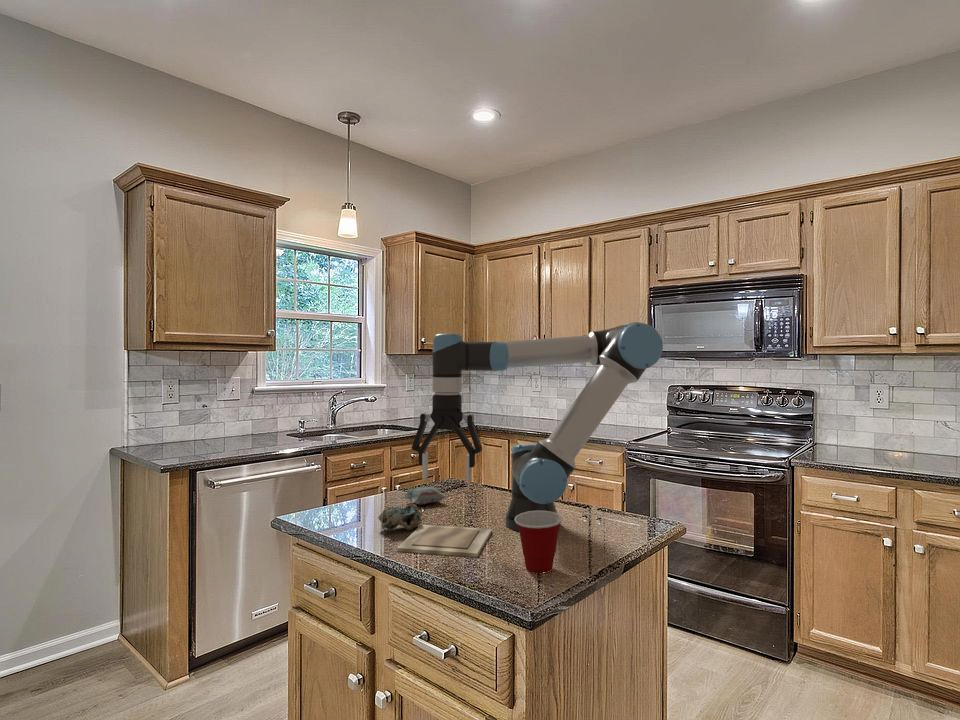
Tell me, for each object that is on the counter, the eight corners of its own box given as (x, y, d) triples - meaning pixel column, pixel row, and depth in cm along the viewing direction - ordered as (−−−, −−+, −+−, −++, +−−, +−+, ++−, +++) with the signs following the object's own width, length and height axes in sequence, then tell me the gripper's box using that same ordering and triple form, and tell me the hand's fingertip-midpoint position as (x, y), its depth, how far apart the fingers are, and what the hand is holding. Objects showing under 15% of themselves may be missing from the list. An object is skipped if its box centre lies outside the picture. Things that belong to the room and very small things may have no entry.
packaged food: (447, 504, 186) (447, 488, 186) (412, 508, 180) (412, 492, 180) (437, 498, 193) (436, 483, 193) (403, 502, 188) (403, 487, 188)
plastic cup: (504, 569, 130) (504, 515, 130) (536, 558, 137) (536, 507, 137) (539, 583, 122) (539, 526, 122) (572, 570, 129) (572, 517, 129)
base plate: (491, 532, 157) (491, 527, 157) (477, 557, 137) (477, 552, 137) (421, 528, 161) (421, 523, 161) (397, 551, 141) (397, 546, 141)
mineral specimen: (384, 532, 152) (397, 504, 153) (371, 520, 159) (383, 492, 160) (422, 542, 159) (433, 514, 159) (407, 529, 166) (418, 503, 167)
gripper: (494, 393, 150) (493, 478, 150) (408, 392, 155) (408, 474, 155) (488, 395, 143) (488, 484, 143) (399, 393, 147) (398, 479, 147)
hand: (446, 478), depth 149 cm, fingers open, 11 cm apart
